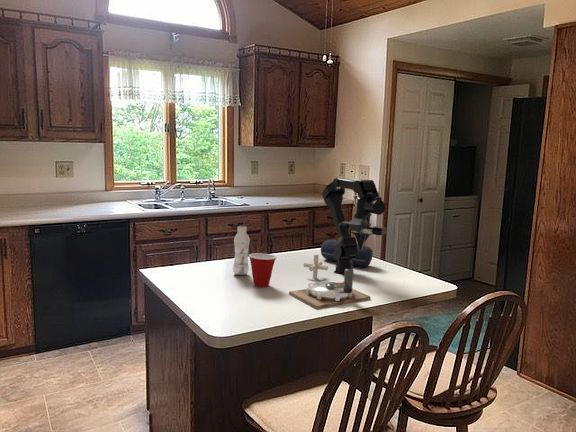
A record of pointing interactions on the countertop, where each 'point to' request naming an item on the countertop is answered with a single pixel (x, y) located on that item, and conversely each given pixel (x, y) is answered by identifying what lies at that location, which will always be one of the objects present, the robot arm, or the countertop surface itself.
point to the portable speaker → (361, 259)
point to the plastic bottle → (241, 251)
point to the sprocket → (333, 288)
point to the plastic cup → (262, 268)
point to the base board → (322, 303)
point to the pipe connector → (315, 266)
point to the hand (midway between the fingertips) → (360, 249)
